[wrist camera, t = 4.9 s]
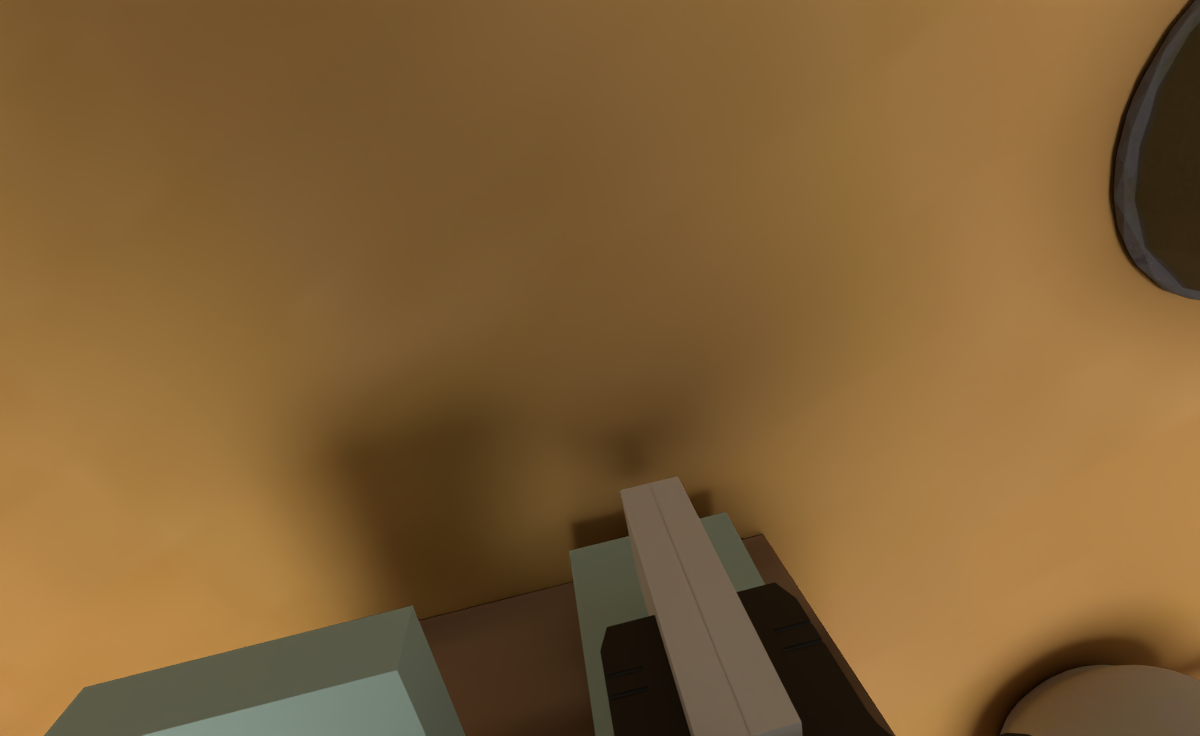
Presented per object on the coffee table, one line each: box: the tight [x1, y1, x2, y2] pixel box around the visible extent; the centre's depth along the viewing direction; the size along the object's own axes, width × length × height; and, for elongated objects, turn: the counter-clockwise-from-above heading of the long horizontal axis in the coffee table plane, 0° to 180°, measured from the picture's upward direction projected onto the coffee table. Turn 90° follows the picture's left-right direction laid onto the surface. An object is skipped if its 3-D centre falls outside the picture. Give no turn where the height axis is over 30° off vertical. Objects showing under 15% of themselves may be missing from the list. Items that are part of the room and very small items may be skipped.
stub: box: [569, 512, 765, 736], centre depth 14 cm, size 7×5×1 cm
